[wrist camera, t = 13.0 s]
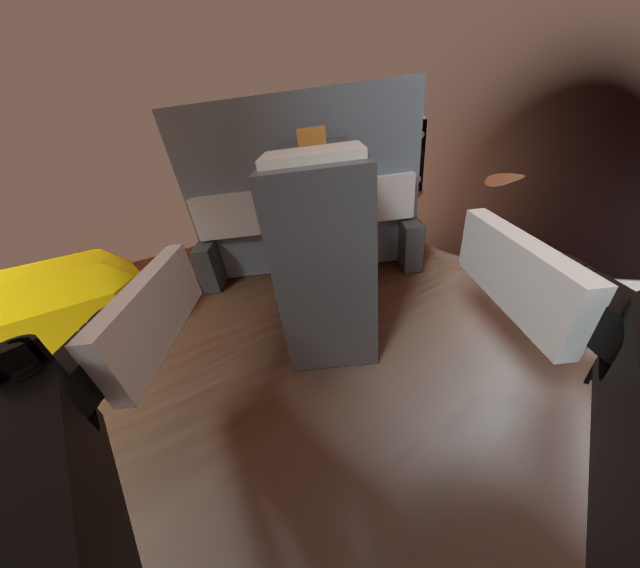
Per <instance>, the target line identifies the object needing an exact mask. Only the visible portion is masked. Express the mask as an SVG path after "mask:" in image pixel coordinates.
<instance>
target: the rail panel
mask: <svg viewBox="0 0 640 568" xmlns="http://www.w3.org/2000/svg"><path fill="white" fill-rule="evenodd" d="M425 80H426V73H418V74H411V75H404V76H396V77H388V78H381V79H374V80H366V81H359V82H352V83H344V84H337V85H330V86H321V87H314V88H307V89H300V90H292V91H284V92H277V93H269V94H262V95H254V96H247V97H240V98H232V99H225V100H217V101H210V102H203V103H195V104H188V105H180V106H173V107H165V108H158V109H152V112H153V115H154V117H155V120H156V123H157V126H158V129H159V131H160V134H161V137H162V140H163V142H164V145H165V148H166V151H167V153H168V156H169V159H170V162H171V165H172V167H173V170H174V173H175V176H176V178H177V181H178V184H179V187H180V190H181V192H182V195H183V198H184V201H185V203H186V206H187V209H188V212H189V214H190V217H191V220H192V223H193V226H194V229H195V231H196V234H197V237H198V240H199V242H198V243H197V244H196V245H195V246H194V248H193V249H192V250H191V251H190V252H189V256H190V259H191V261H192V264H193V266H194V269H195V271H196V274H197V277H198V279H199V282H200V284H201V287H202V289H203V292H204V294H212V293H221V292H222V290H223V288H224V286H225V284H226V282H227V280H228V278H234V277H243V276H253V275H262V274H270V271H269V267H268V262H267V258H266V254H265V249H264V245H263V241H262V237H261V232H260V228H259V224H258V219H257V215H256V211H255V207H254V202H253V198H252V194H251V190H250V185H249V181H248V177H249V176H250V175H251V173H252V172H253V171H254V170H255V169H256V164H255V161H256V160H257V159H258V158H259V157H260V156H261V155H262V154H263V153H265V152H266V151H273V149H274V148H275V147H276V146H277V145H278V144H285V143H293V142H298V141H297V133H296V130H297V129H300V128H307V127H315V126H323V125H324V126H325V133H326V138H333V137H340V136H350V137H351V138H352V139H353V140H359V141H360V142H361V143H362V144H364V145H365V146H366V147H367V148H368V154H369V155H370V156H371V157H372V158H373V159H374V160H376V161H377V228H378V262H385V261H395V260H397V261H398V262H399V264H400V266H401V268H402V270H403V272H404V274H406V273H416V272H422V268H423V257H424V245H425V233H426V227H425V226H424V225H423V223H422V222H421V221H420V220H419V219H418V218H417V217H416V216H417V200H418V186H419V171H420V157H421V142H422V127H423V112H424V97H425V82H426V81H425Z"/></svg>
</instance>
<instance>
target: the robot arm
mask: <svg viewBox="0 0 640 568" xmlns="http://www.w3.org/2000/svg"><path fill="white" fill-rule="evenodd" d="M459 265H460V266H461V267H462V268H463V269H464V270H465V271H466V272H467V273H468V274H469V275H470V276H471V277H472V278H473V280H474V281H475V282H476V283H477V284H478V285H479V286H480V287H481V288H482V289H483V290H484V291H485V292H486V293H487V294H488V295H489V296H490V298H491V299H492V300H493V301H494V302H495V303H496V304H497V305H498V306H499V307H500V308H501V309H502V310H503V311H504V312H505V313H506V314H507V316H508V317H509V318H510V319H511V320H512V321H513V322H514V323H515V324H516V325H517V326H518V327H519V328H520V329H521V330H522V331H523V332H524V334H525V335H526V336H527V337H528V338H529V339H530V340H531V341H532V342H533V343H534V344H535V345H536V346H537V347H538V348H539V349H540V350H541V352H542V353H543V354H544V355H545V356H546V357H547V358H548V359H549V360H550V361H551V362H552V363H553V364H554V365H556V364H566V363H576V362H580V360H581V358H582V356H583V354H584V352H585V350H586V348H587V347H588V348H589V349H590V350H592V351H593V352H594V353H595V354H596V355H597V356H598V357H597V358H596V360H595V362H594V364H593V366H592V367H591V369H590V371H589V373H588V375H587V376H586V378H585V380H584V382H583V383H585V384H589V382H590V380H592V402H591V430H590V458H589V486H588V514H587V542H586V568H640V291H637V292H636V291H634V290H632V289H630V288H629V287H627V286H625V285H623V284H622V283H620V282H618V281H616V280H615V279H613V278H611V277H609V276H607V275H606V274H604V273H602V272H598V270H597V269H595V268H593V267H591V266H588V265H587V264H586V263H585V262H583V261H581V260H579V259H578V258H576V257H574V256H571V255H568V254H565V253H562V252H559V251H557V250H555V249H553V248H552V247H550V246H548V245H547V244H545V243H543V242H542V241H540V240H538V239H536V238H535V237H533V236H531V235H530V234H528V233H526V232H525V231H523V230H521V229H519V228H517V227H516V226H514V225H512V224H511V223H509V222H507V221H506V220H504V219H502V218H501V217H499V216H497V215H496V214H494V213H492V212H490V211H489V210H487V209H485V208H480V209H472V210H467V214H466V220H465V227H464V233H463V239H462V245H461V251H460V257H459ZM201 294H202V291H201V289H200V286H199V284H198V281H197V279H196V276H195V274H194V271H193V268H192V266H191V263H190V261H189V258H188V256H187V253H186V251H185V248H184V246H183V244H177V245H168V246H166V247H165V248H164V249H163V250H162V251H161V252H160V253H159V254H158V255H157V256H156V257H155V258H154V259H153V260H152V261H151V262H150V263H149V264H148V265H147V266H146V267H145V268H144V269H143V270H142V271H141V272H140V273H139V274H137V275H136V276H135V277H134V278H133V279H132V280H131V281H130V282H129V283H128V284H127V285H126V286H125V287H124V288H123V289H122V290H121V291H120V292H119V293H118V294H117V295H116V296H115V297H114V298H113V299H112V300H111V301H110V302H109V303H108V304H107V305H106V306H105V307H103V308H102V309H100V310H98V311H97V312H96V313H95V314H94V315H93V316H92V317H91V318H90V319H89V320H88V321H87V323H85V324H83V325H82V326H81V327H80V328H79V331H76V332H75V333H74V334H73V335H72V336H71V337H70V338H69V339H68V340H67V341H66V342H65V343H64V344H63V345H62V346H61V347H60V348H59V349H58V350H57V351H56V352H55V353H54V354H53V355H52V354H51V353H50V351H49V350H48V349H47V348H46V347H45V345H44V344H43V343H42V342H41V341H40V339H39V338H38V337H37V336H36V335H34V334H26V335H20V336H17V337H14V338H11V339H8V340H6V341H3V342H1V343H0V568H142V565H141V561H140V557H139V553H138V549H137V545H136V542H135V538H134V534H133V530H132V526H131V522H130V518H129V514H128V511H127V507H126V503H125V499H124V495H123V491H122V487H121V484H120V480H119V476H118V472H117V468H116V464H115V460H114V456H113V453H112V449H111V445H110V441H109V437H108V433H107V429H106V425H105V422H104V418H103V415H102V413H101V412H100V411H99V410H98V408H97V407H98V406H99V404H100V403H101V401H102V400H103V399H104V398H105V399H106V400H107V401H108V403H109V404H110V405H111V406H112V408H113V409H122V408H132V407H137V406H138V404H139V402H140V401H141V399H142V397H143V395H144V394H145V392H146V390H147V388H148V387H149V385H150V383H151V381H152V380H153V378H154V376H155V374H156V373H157V371H158V369H159V367H160V366H161V364H162V362H163V360H164V359H165V357H166V355H167V353H168V352H169V350H170V348H171V346H172V345H173V343H174V341H175V339H176V338H177V336H178V334H179V332H180V331H181V329H182V327H183V325H184V324H185V322H186V320H187V318H188V317H189V315H190V313H191V311H192V310H193V308H194V306H195V304H196V303H197V301H198V299H199V297H200V296H201Z"/></svg>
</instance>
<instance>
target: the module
mask: <svg viewBox="0 0 640 568" xmlns="http://www.w3.org/2000/svg"><path fill="white" fill-rule="evenodd" d="M296 133H297V141H298V142H293V143H285V144H278V145H277V146H276V147H275V148H274V149H273V151H266V152H265V153H263V154H262V155H261V156H260V157H259V158H258V159H257V160H256V161H255V164H256V169H255V170H254V171H253V172H252V173H251V175H250V176H249V177H248V181H249V185H250V190H251V194H252V198H253V202H254V207H255V211H256V215H257V219H258V224H259V228H260V232H261V237H262V241H263V245H264V249H265V254H266V258H267V262H268V267H269V271H270V275H271V279H272V284H273V288H274V292H275V296H276V301H277V305H278V309H279V314H280V318H281V322H282V326H283V331H284V335H285V339H286V344H287V348H288V352H289V356H290V361H291V365H292V369H293V371H301V370H313V369H324V368H335V367H346V366H357V365H368V364H378V228H377V161H376V160H374V159H373V158H372V157H371V156H370V155H369V154H368V148H367V147H366V146H365V145H364V144H362V143H361V142H360V141H359V140H353V139H352V138H351V137H350V136H340V137H333V138H326V133H325V126H324V125H323V126H315V127H307V128H300V129H297V130H296Z"/></svg>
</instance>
